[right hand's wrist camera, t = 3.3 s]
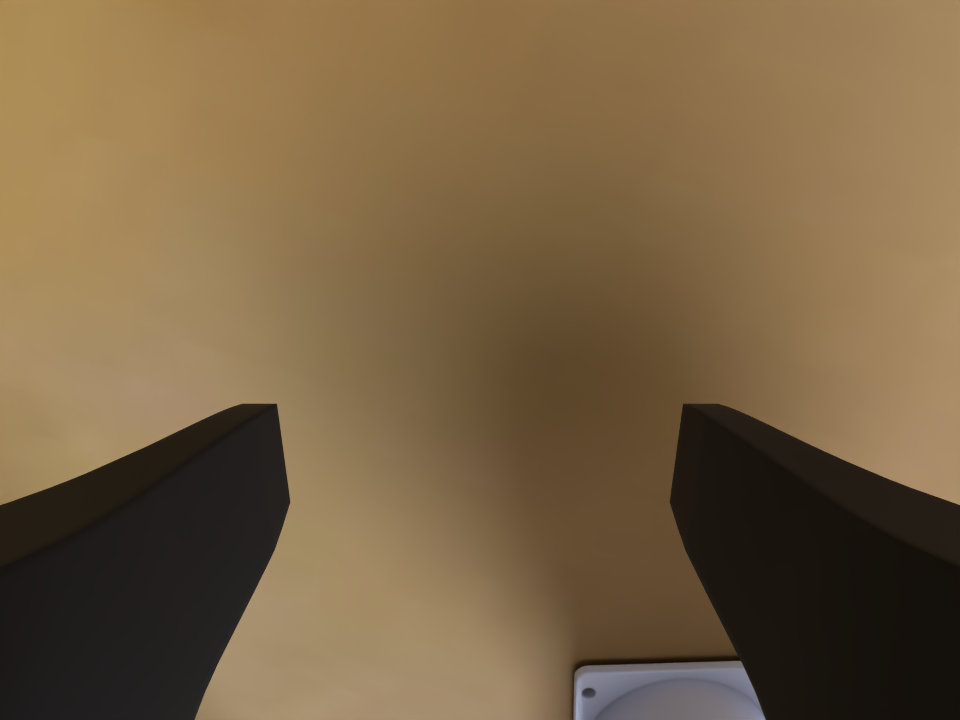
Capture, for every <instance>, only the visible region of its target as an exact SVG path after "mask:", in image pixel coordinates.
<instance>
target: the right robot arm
mask: <svg viewBox="0 0 960 720" xmlns="http://www.w3.org/2000/svg"><path fill="white" fill-rule="evenodd" d="M289 504H290V497H289V489H288V482H287V475H286V467H285V460H284V453H283V445H282V438H281V431H280V423H279V416H278V409H277V404H240V405H237V406H234V407H231V408H228V409H226V410H223V411H221V412H219V413H216V414H214V415H212V416H210V417H208V418H205V419H203V420H201V421H199V422H197V423H195V424H193V425H191V426H189V427H186V428H184V429H182V430H180V431H178V432H176V433H174V434H172V435H170V436H168V437H166V438H164V439H161V440H159V441H157V442H155V443H153V444H151V445H149V446H147V447H145V448H142V449H140V450H138V451H136V452H133V453H131V454H129V455H127V456H124V457H122V458H120V459H118V460H115V461H113V462H111V463H109V464H106V465H104V466H102V467H100V468H97V469H95V470H93V471H91V472H88V473H86V474H84V475H81V476H79V477H76V478H74V479H71V480H69V481H66V482H64V483H61V484H59V485H56V486H53V487H51V488H48V489H45V490H43V491H40V492H37V493H34V494H31V495H29V496H26V497H23V498H20V499H17V500H15V501H12V502H9V503H6V504H3V505H0V720H194V719H195V717H196V714H197V712H198V709H199V706H200V704H201V701H202V698H203V696H204V693H205V691H206V689H207V686H208V684H209V682H210V680H211V678H212V675H213V673H214V671H215V669H216V666H217V664H218V662H219V660H220V658H221V656H222V654H223V652H224V650H225V648H226V646H227V644H228V642H229V640H230V638H231V636H232V634H233V632H234V631H235V629H236V627H237V625H238V623H239V621H240V619H241V617H242V615H243V613H244V611H245V609H246V607H247V605H248V603H249V601H250V599H251V597H252V595H253V593H254V591H255V589H256V587H257V585H258V583H259V581H260V579H261V577H262V575H263V573H264V571H265V569H266V567H267V565H268V563H269V561H270V558H271V556H272V554H273V552H274V550H275V547H276V544H277V541H278V539H279V536H280V533H281V530H282V527H283V524H284V520H285V517H286V514H287V511H288V508H289ZM670 504H671V508H672V511H673V514H674V517H675V520H676V524H677V527H678V530H679V533H680V536H681V539H682V541H683V544H684V547H685V550H686V552H687V554H688V556H689V558H690V561H691V563H692V565H693V567H694V569H695V571H696V573H697V575H698V577H699V579H700V581H701V583H702V585H703V587H704V589H705V591H706V593H707V595H708V597H709V599H710V601H711V603H712V605H713V607H714V609H715V611H716V613H717V615H718V617H719V619H720V621H721V623H722V625H723V627H724V629H725V631H726V632H727V634H728V636H729V638H730V640H731V642H732V644H733V646H734V648H735V650H736V652H737V654H738V656H739V658H740V660H741V661H718V662H685V663H653V664H621V665H589V666H583V667H581V668H579V669H578V670H577V671H576V672H575V675H574V716H573V720H960V505H958V504H955V503H952V502H949V501H946V500H944V499H941V498H938V497H935V496H932V495H929V494H927V493H924V492H921V491H918V490H915V489H912V488H910V487H907V486H905V485H902V484H899V483H897V482H894V481H892V480H889V479H887V478H884V477H882V476H879V475H877V474H875V473H872V472H870V471H868V470H865V469H863V468H861V467H858V466H856V465H854V464H851V463H849V462H846V461H844V460H842V459H840V458H838V457H835V456H833V455H831V454H829V453H827V452H824V451H822V450H820V449H818V448H816V447H814V446H812V445H809V444H807V443H805V442H803V441H801V440H799V439H797V438H795V437H793V436H791V435H788V434H786V433H784V432H782V431H780V430H778V429H776V428H774V427H772V426H770V425H768V424H766V423H763V422H761V421H759V420H757V419H755V418H753V417H751V416H748V415H746V414H744V413H742V412H739V411H737V410H735V409H732V408H729V407H727V406H723V405H720V404H683V409H682V416H681V423H680V431H679V438H678V445H677V453H676V460H675V467H674V475H673V482H672V489H671V497H670ZM587 688H590V689H587Z"/></svg>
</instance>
